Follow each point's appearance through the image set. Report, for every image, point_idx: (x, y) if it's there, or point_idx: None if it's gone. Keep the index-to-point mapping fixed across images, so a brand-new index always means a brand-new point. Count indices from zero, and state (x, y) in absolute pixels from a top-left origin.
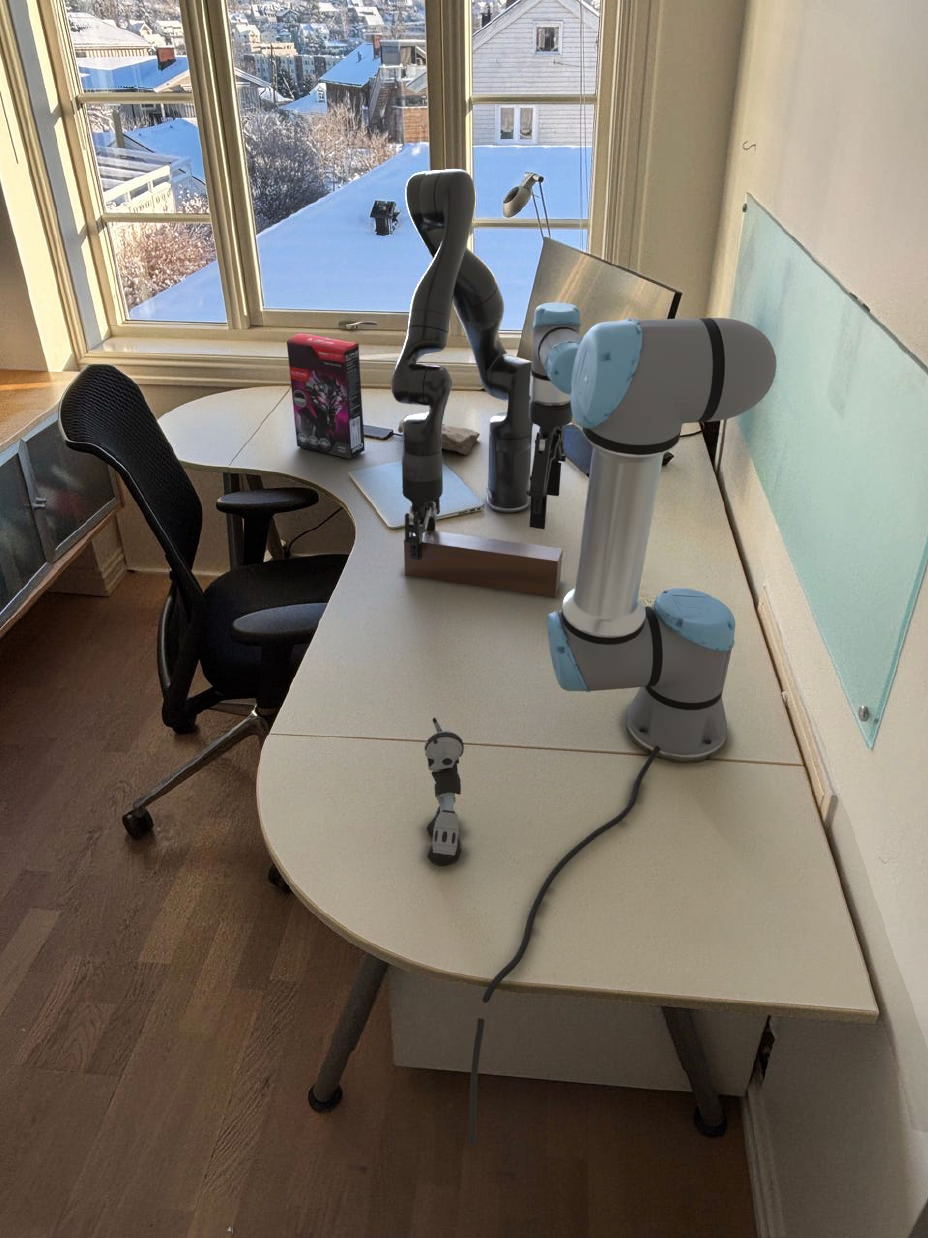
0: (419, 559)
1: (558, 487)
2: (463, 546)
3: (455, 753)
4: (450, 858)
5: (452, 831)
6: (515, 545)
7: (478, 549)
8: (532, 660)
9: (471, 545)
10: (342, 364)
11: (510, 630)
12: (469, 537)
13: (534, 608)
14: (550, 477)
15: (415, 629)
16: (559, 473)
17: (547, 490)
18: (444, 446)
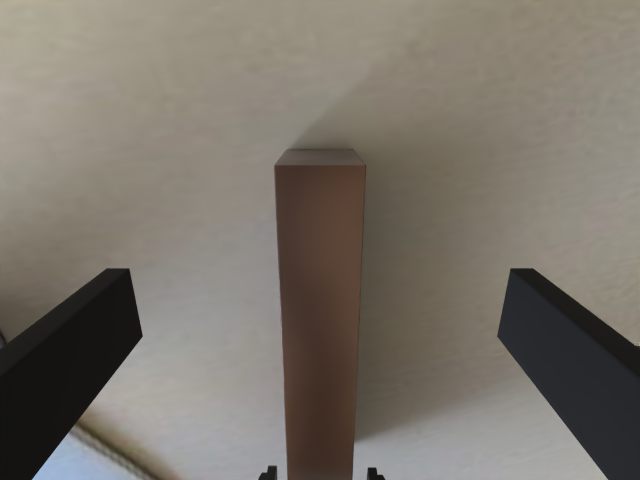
0: (375, 468)
1: (99, 297)
2: (346, 422)
3: None
4: None
5: None
6: (301, 307)
7: (352, 388)
8: (628, 150)
9: (336, 407)
10: None
11: (511, 222)
12: (295, 420)
13: (411, 189)
14: (71, 387)
15: (525, 386)
16: (25, 362)
17: (126, 338)
18: None
